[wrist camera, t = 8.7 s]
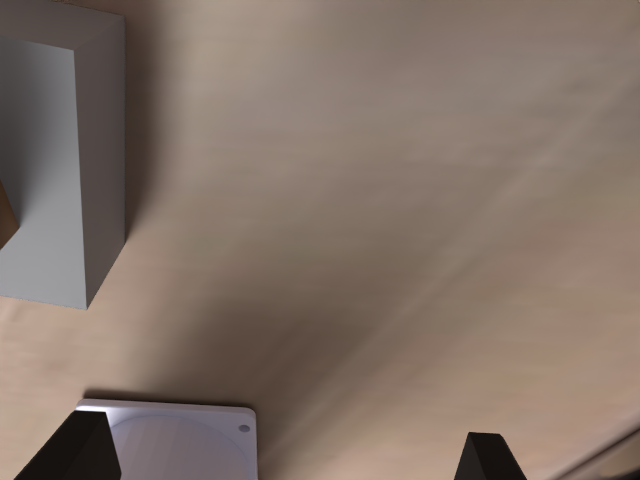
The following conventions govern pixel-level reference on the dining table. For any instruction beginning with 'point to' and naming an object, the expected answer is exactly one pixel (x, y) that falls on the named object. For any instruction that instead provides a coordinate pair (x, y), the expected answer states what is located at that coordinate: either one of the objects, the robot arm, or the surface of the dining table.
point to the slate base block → (61, 149)
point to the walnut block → (6, 219)
